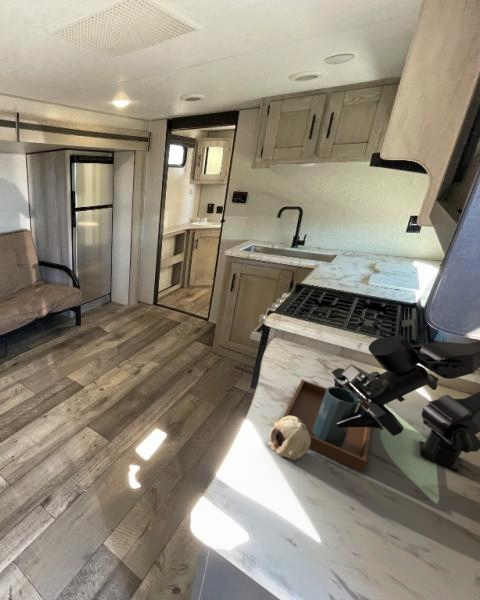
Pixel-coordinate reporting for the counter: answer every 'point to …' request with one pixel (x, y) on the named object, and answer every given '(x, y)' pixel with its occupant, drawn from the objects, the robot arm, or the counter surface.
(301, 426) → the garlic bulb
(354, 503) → the counter surface
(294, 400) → the tray
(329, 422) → the tumbler
